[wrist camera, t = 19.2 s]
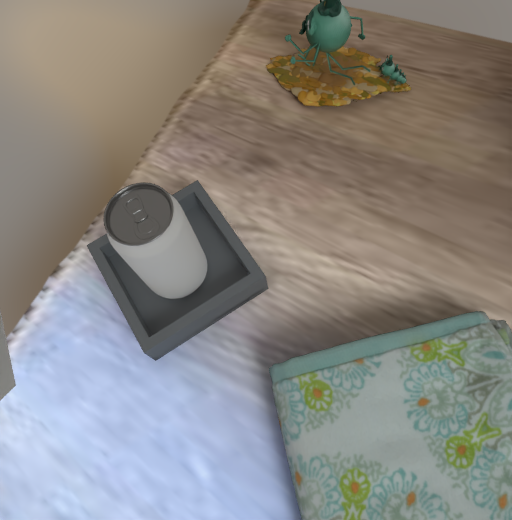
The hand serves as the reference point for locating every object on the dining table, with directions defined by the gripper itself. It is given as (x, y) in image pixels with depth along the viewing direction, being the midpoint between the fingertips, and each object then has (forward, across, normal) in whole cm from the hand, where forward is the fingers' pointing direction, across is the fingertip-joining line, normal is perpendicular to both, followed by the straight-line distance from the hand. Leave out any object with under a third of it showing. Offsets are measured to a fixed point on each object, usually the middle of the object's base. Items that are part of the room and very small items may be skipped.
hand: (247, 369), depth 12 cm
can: (+33, -13, -12) cm, 37 cm away
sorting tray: (+33, -13, -13) cm, 38 cm away
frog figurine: (+52, +1, +5) cm, 52 cm away
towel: (+24, +10, -23) cm, 35 cm away
